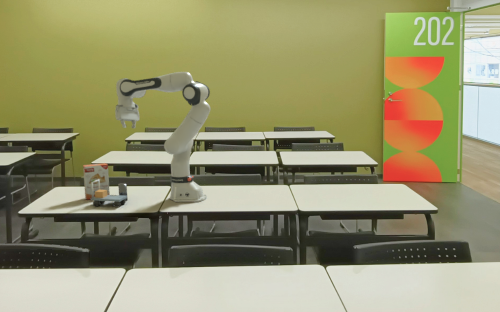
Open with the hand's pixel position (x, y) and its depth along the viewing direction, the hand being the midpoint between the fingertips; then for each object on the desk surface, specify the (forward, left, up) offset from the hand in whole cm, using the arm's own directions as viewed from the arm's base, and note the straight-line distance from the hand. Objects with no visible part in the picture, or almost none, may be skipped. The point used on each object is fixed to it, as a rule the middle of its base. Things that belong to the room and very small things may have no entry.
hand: (129, 127), depth 289 cm
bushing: (+1, +10, -43) cm, 44 cm away
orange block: (+9, +21, -38) cm, 45 cm away
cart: (+4, +21, -43) cm, 48 cm away
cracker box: (+20, +7, -43) cm, 48 cm away
